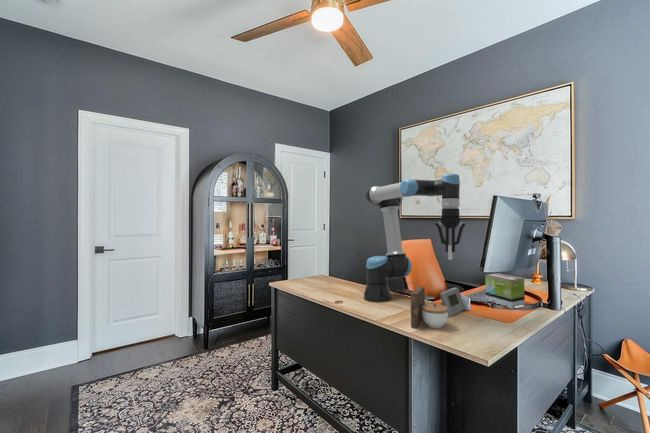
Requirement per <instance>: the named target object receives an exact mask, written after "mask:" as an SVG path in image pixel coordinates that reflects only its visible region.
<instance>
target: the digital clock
mask: <svg viewBox="0 0 650 433" xmlns="http://www.w3.org/2000/svg"><path fill="white" fill-rule="evenodd" d="M439 296H440V300H441V302H440V305H444V306H446V307H448V317H452V316H454V315H457V314H459V313H461V312H463V311H464V310H465V309H466V306H465V303H464V301H463V297H462V295H461V292H460V289H459V288H458V287H452V288H448V289H445V290H443V291H441V292H440V293H439Z"/></svg>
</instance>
